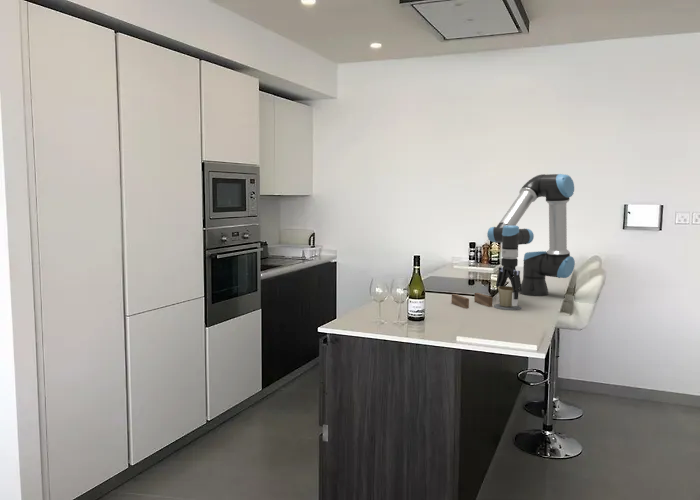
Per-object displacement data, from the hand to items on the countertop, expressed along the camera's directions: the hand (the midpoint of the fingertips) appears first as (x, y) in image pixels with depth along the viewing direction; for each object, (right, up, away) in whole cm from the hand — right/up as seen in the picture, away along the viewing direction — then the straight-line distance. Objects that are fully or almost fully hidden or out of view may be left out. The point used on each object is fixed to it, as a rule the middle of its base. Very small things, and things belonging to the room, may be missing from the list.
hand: (507, 303), depth 284 cm
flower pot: (0, -1, +1) cm, 2 cm away
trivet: (0, -2, 0) cm, 2 cm away
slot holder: (-16, -1, +5) cm, 17 cm away
